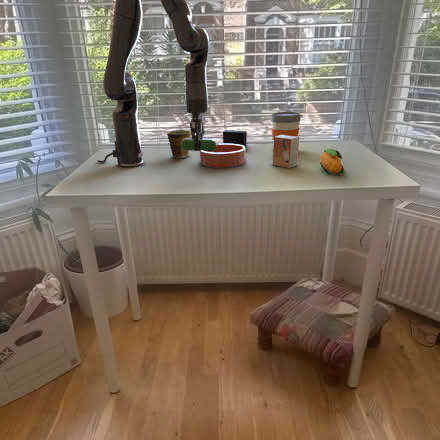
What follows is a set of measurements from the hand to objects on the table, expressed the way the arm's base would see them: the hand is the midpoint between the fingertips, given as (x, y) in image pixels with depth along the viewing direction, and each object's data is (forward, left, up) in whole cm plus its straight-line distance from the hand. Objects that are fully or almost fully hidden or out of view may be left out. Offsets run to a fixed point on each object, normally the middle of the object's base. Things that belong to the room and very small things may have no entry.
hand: (198, 149), depth 145 cm
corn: (+48, +1, -8) cm, 49 cm away
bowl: (+6, +15, -8) cm, 18 cm away
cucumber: (0, 0, 0) cm, 0 cm away
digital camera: (+7, +46, -8) cm, 47 cm away
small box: (+31, +11, -8) cm, 34 cm away
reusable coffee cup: (+30, +38, -8) cm, 49 cm away
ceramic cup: (-15, +26, -8) cm, 31 cm away
